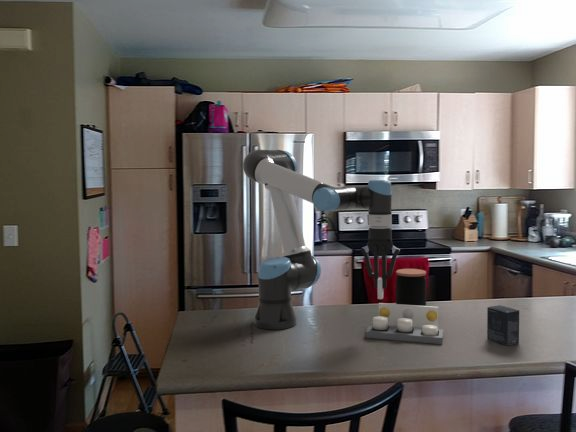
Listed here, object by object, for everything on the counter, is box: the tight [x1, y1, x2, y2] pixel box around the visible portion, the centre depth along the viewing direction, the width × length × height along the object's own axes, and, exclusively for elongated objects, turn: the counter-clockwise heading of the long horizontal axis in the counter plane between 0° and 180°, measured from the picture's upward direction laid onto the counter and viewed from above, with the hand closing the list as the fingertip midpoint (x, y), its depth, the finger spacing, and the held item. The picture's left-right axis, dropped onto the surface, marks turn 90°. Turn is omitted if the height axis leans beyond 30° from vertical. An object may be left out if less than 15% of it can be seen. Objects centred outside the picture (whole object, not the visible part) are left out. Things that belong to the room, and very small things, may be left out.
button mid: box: [397, 318, 412, 332], centre depth 170 cm, size 5×5×3 cm
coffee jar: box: [395, 268, 427, 306], centre depth 188 cm, size 11×11×18 cm
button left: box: [372, 315, 388, 330], centre depth 172 cm, size 5×5×3 cm
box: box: [486, 304, 520, 346], centre depth 163 cm, size 8×6×11 cm
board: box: [365, 323, 444, 345], centre depth 170 cm, size 24×9×2 cm, turn 71°
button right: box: [422, 325, 439, 336], centre depth 167 cm, size 5×5×3 cm
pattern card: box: [378, 302, 439, 328], centre depth 179 cm, size 20×1×8 cm, turn 71°
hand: (380, 298), depth 171 cm, fingers closed
